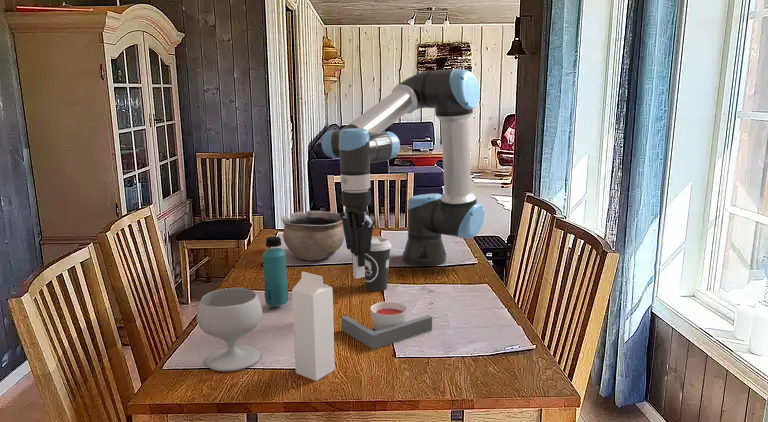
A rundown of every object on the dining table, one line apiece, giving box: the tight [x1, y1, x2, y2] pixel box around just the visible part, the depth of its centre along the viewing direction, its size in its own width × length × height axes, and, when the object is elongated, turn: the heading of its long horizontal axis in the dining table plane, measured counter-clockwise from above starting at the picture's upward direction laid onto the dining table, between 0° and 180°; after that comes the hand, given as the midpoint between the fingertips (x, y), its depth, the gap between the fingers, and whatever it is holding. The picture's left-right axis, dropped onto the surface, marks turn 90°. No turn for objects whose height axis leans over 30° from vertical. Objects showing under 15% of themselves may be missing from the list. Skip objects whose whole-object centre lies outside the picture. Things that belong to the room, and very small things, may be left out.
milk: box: [291, 271, 336, 382], centre depth 122 cm, size 6×6×22 cm
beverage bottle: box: [262, 236, 289, 307], centre depth 159 cm, size 6×7×20 cm
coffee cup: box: [364, 236, 392, 292], centre depth 174 cm, size 10×10×15 cm
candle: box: [370, 300, 408, 331], centre depth 143 cm, size 9×9×6 cm
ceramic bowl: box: [281, 210, 345, 261], centre depth 205 cm, size 22×22×15 cm
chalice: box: [196, 287, 263, 372], centre depth 128 cm, size 14×14×15 cm
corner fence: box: [341, 314, 433, 350], centre depth 144 cm, size 18×14×4 cm
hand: (359, 276), depth 153 cm, fingers closed
